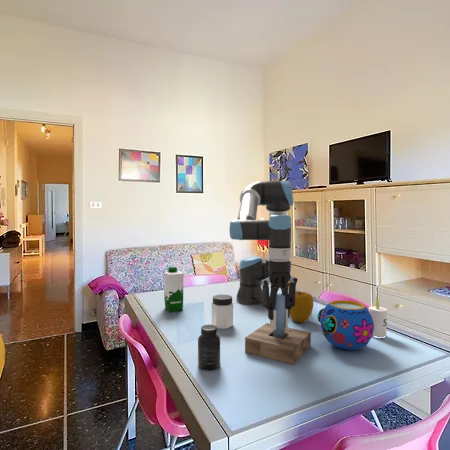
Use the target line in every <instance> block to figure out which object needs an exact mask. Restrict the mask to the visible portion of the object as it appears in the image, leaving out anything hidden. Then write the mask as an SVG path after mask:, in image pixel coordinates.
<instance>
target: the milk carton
mask: <svg viewBox="0 0 450 450" xmlns="http://www.w3.org/2000/svg"><path fill="white" fill-rule="evenodd" d="M163 273H164V274H163V275H164V281H163V282H164V286H163V287H164V296H163V297H164V308H165V310H167V312H168V313H171V312H179V311H180V312H181V311H184V273H183V272H182V271H180V270H178V267H176V266H169V267H168V271H164V272H163Z"/></svg>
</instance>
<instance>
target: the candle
mask: <svg viewBox="0 0 450 450" xmlns="http://www.w3.org/2000/svg"><path fill="white" fill-rule="evenodd" d="M379 301H380V300H379V298H378V297H377V296H375V306H374V305H373V306H369V307H368V310H369V312H370V314H371V316H372V319H373V323H374V332H373V336H377V337H384V336H386V337H387V322H388V309H387V308H385V307H383V306H380V302H379Z"/></svg>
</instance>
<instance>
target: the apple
mask: <svg viewBox="0 0 450 450" xmlns="http://www.w3.org/2000/svg"><path fill="white" fill-rule="evenodd" d="M313 310H314V298H313V296H312V294H310V293H308V292H305V291H300V290H299V291H296V293H295V306H292V309H290V316H289V317H290V318H291V320H292V321H294V322H297V323H305V322H307V321H308V320H309V319H310V317H311V315H312V312H313Z"/></svg>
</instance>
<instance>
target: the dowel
mask: <svg viewBox="0 0 450 450" xmlns="http://www.w3.org/2000/svg"><path fill="white" fill-rule="evenodd" d="M274 310H276V330H273V337H276V338H281V339H284V338H285V295H284V294H282V293H277V297H276V302H275V308H274Z"/></svg>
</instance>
